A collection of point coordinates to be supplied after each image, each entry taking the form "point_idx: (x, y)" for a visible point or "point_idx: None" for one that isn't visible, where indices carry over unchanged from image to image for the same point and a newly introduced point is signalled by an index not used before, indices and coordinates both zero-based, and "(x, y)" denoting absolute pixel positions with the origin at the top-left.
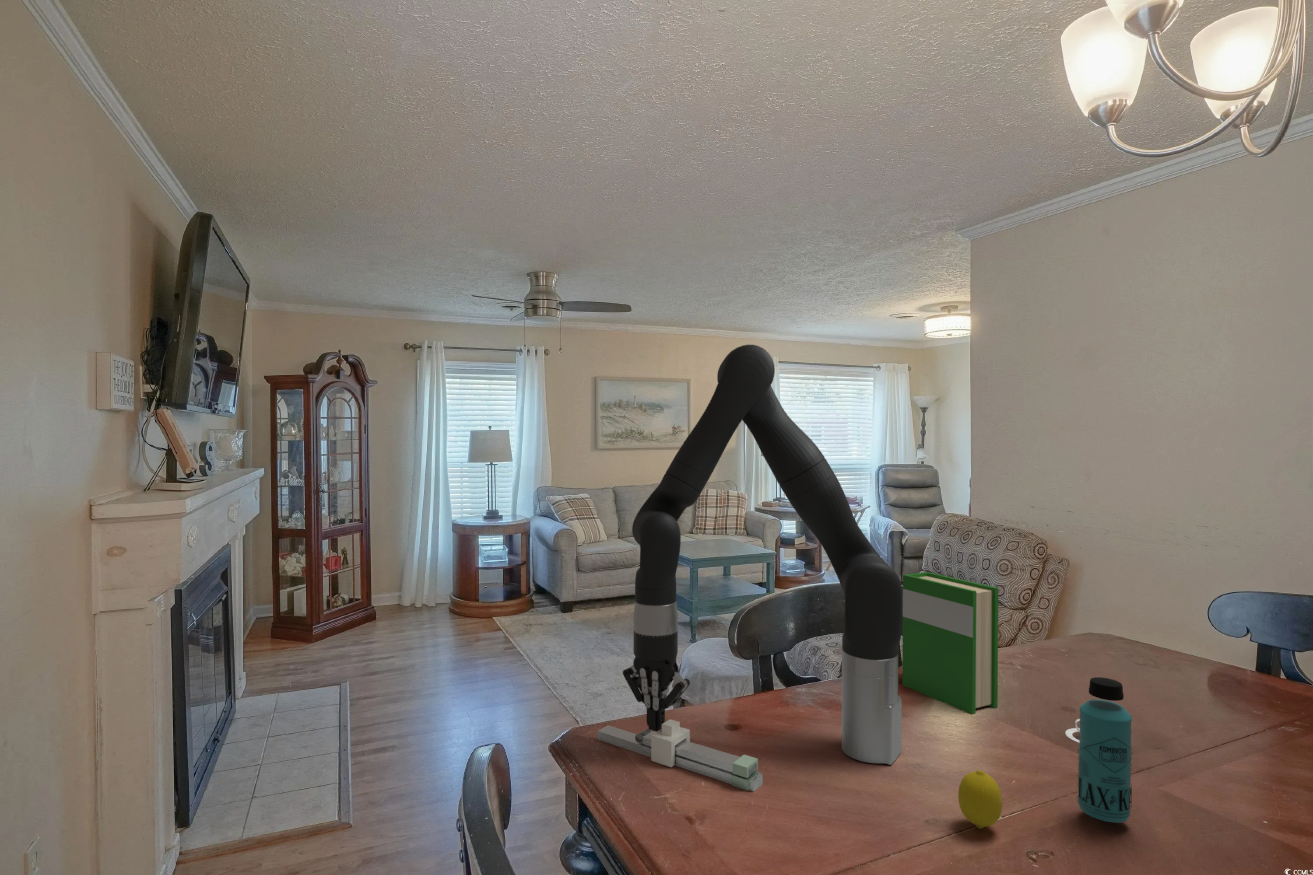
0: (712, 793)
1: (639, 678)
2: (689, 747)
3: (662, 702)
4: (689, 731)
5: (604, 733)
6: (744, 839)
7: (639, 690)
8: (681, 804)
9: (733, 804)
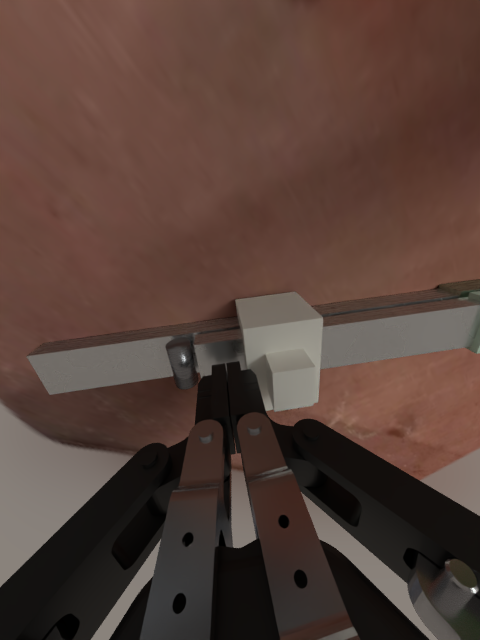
0: (402, 370)
1: (65, 599)
2: (341, 350)
3: (302, 490)
4: (320, 317)
5: (75, 389)
6: (476, 417)
7: (151, 541)
8: (369, 419)
9: (445, 371)
